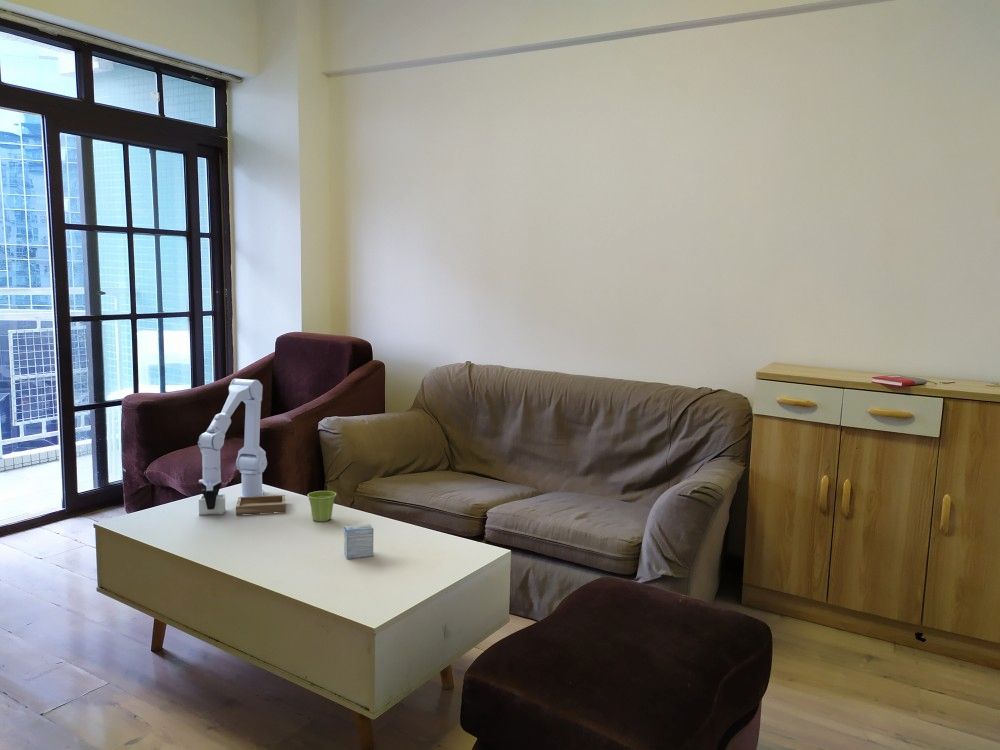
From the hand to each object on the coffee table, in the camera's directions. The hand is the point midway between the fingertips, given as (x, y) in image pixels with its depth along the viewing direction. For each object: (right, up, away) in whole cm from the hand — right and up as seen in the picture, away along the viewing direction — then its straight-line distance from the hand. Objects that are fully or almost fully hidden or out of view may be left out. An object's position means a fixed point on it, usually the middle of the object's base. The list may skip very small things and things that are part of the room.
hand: (212, 506), depth 252 cm
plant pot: (+39, -4, -4) cm, 39 cm away
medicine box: (+57, -8, -37) cm, 69 cm away
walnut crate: (+15, -2, +6) cm, 16 cm away
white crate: (0, -2, 0) cm, 2 cm away
